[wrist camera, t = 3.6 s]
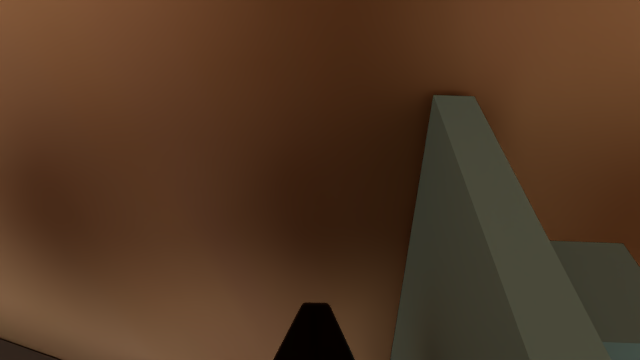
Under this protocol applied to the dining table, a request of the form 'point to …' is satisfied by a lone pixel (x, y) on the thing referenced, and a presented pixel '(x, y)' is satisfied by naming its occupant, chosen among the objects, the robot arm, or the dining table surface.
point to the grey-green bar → (502, 263)
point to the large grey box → (19, 353)
